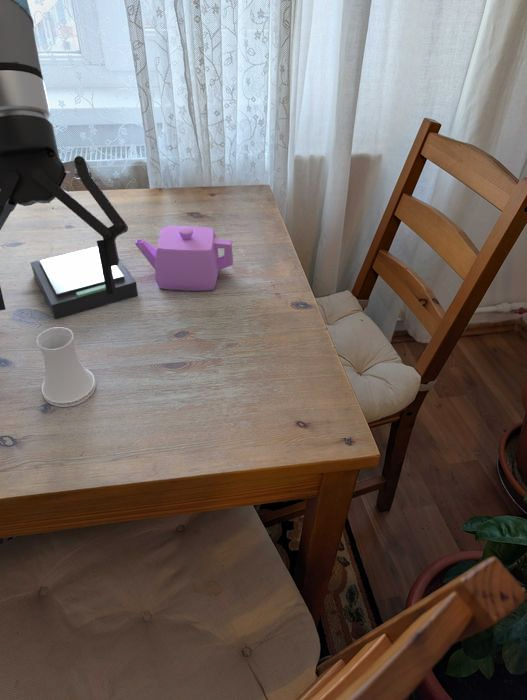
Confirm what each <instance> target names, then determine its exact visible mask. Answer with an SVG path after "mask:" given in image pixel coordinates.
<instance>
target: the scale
mask: <svg viewBox="0 0 527 700" xmlns="http://www.w3.org/2000/svg"><path fill="white" fill-rule="evenodd" d="M30 266H31V269H32V273H33V277H34V278H35V281H36V282H37V284H38V287H39V288H40V290H41V293H42V295H43V297H44V299H45V301H46V303H47V305H48V307H49V310H50V311H51V313H52V315H53V317H54V319H55V320H56V319H60V318H63V317H64V318H65V317H66V316H71V315H75V314H78V313H81V312H85V311H88V310H92V309H95V308H99V307H102V306H106V305H110V304H112V303H115V302H119V301H122V300H127V299H130V298H133V297H138V296H139V294H138V287H137V282H136V280H135V279H134V277H133V275H132V274H131V273H130V271H129V270H128V269H127V267H126V266H125V265H124V263H123V262H122V260H121V259H120V258H119V264H118V265H116V266H111V268H112V273H113V278H114V284H115V289H116V293H113V294H107V292H106V286H105V281H104V276H103V271H102V266H101V261H100V256H99V251H98V245H97V246H93V247H90V248H85V249H81V250H76V251H73V252H68V253H64V254H60V255H55V256H51V257H47V258H43V259H39V260H35V261H31V262H30Z"/></svg>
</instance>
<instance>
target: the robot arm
mask: <svg viewBox="0 0 527 700" xmlns="http://www.w3.org/2000/svg"><path fill="white" fill-rule="evenodd" d="M34 24H35V23H34V19H33V17H32V13H31V9H30V6H29V2H28V0H0V231H1V230H2V228H3V226H4V225H5V224H6V221H7V219H8V218H9V216H10V215H11V213H12V212H13V211H14V210H15V208H16V207H17V206H18V205H19V206H23V207H26V206H27V207H28V206H32V205H36V204H51V202H52V201H53V200H55V199H57V200H58V201H59V202H61V203H62V205H64V206H65V207H67V208H68V209H69V210H70V211H71V212H73V213H74V214H75V215H76V216H77V217H78V218H79V219H81V220H82V221H83V222H84V223H86V224H87V225H88V226H89V227H90V228H92V229H93V230H94V231H95V232H96V233H98V234H99V236H101V237H102V239H99V240H96V245H97V246H98V251H99V256H100V261H101V266H102V271H103V276H104V281H105V286H106V292H107V294H113V293H116V289H115V284H114V278H113V273H112V268H111V266H116V265H118V264H119V259H120V258H119V253H118V248H117V243H116V240H117V238H118V237H119V236H120V235H123V234H126V233H127V232H128V230H129V226H128V225H127V223H126V222H125V221H124V219H123V217H121V214H119V212H118V211H117V210H116V208H115V207H114V205H113V203H111V201H110V200H109V198H108V197H107V196H106V194H105V193H104V192H103V189H101V188H100V186H99V185H98V184H97V182H96V180H95V179H94V177H93V175H92V172H91V169H90V165H89V163H88V161H86V159H85V158H84V157H83V156H81V155H77V156H75V158H73V159H74V160H69V161H64V162H62V160H61V158H60V154H59V148H58V144H57V140H56V134H55V129H54V125H53V123H51V121H49V119H50V118H51V116H52V115H51V114H52V113H51V109H50V105H49V99H48V96H47V94H48V93H47V90H46V85H45V82H44V75H43V74H42V68H41V62H40V57H39V51H38V45H37V39H36V33H35V30H34V29H35V26H34ZM68 173H69V174H71V175H72V177H73V178H74V179H76V180H80V181H81V183H82V184H83V185H84V187H85V188H86V190H87V191H88V193H89V194H90V195H91V197H92V198H93V199H94V201H95V202H96V203H97V205H98V206H99V207H100V209H101V210H102V211H103V213H104V214H105V216H106V217H107V218H108V219H109V222H111V224H112V225H110V226H109V227H108V226H107V225H106V224H105V223H103V222H102V221H101V220H100V219H99V218H97V217H96V216H95V215H94V214H93V213H92V212H90V211H89V210H88V209H87V208H86V207H85V206H83V205H82V204H81V203H80V202H79V201H77V200H76V199H75V198H74V197H73V196H72V195H71V194H69V193H68V192H67V191H66V190H65V189H64V188H62V184H63V182H64V181H65V178H66V176H67V174H68ZM5 310H6V306H5V300H4V296H3V292H2V287H1V286H0V311H5Z"/></svg>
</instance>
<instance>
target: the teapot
mask: <svg viewBox="0 0 527 700" xmlns="http://www.w3.org/2000/svg"><path fill="white" fill-rule="evenodd" d="M134 245H135V247H137V248H138V250H139V251H140V253H141V254H142V255H143V257H145V259H146V260H147V261H148V263H149V264H150V266H152V267H153V269H154V273H155V281H156V284H157V286H158V288H160V289H162V290H172V291H184V292H185V291H187V292H200V291H205V292H206V291H213V290H215V288H216V284H217V282H218V275H219V271H221V270H222V271H223V270H224V269H226V268H229V267H231V266H233V265H234V255H233V244H232V239H227V238H226V239H225V238H217V237H216V232H215V229H214V228H212V227H208V226H206V227H205V226H197V225H196V226H195V225H194V226H193V225H165V226H162V227H161V230H160V233H159V237H158V241H157V243H156V248H155V247H154V246H153V245H151V244H150V243H149V242H148V241H146V240H144V238H140V239H136V240H135V242H134ZM219 249H223V255H222V256H220V257H219Z"/></svg>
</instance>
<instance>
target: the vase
mask: <svg viewBox="0 0 527 700" xmlns="http://www.w3.org/2000/svg"><path fill="white" fill-rule="evenodd" d="M35 341H36V345H37V346H38V349H39V350H40V352H41V353H40V354H41V356H42V359H43V362H44V367H45V378H44V380H43V382H42V384H41V393H42V396H43V398H44V400H45V401H46V402H47V403H48V404H50V405H52V406H55V407H57V408H69V407H74V406H77V405H79V404H82V403H83V402H85V401H87V400H88V399H89V398H90V397H92V395H93V394H94V392H95V390H96V386H97V385H96V383H97V382H96V380H95V379H96V378H95V375H94V374H93V373H92V371H90V370H89V369H88V368H86V367H85V366H84V365H83V363H82V361H81V360H80V358H79V355H78V353H77V350H76V346H75V339H74V332H73V331H72V330H71V329H70V328H67V327H63V326H55V327H50V328H47V329H45V330H44V331H43V330H42V331H41V332H40V333H39V335H37V337H36V340H35Z"/></svg>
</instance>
